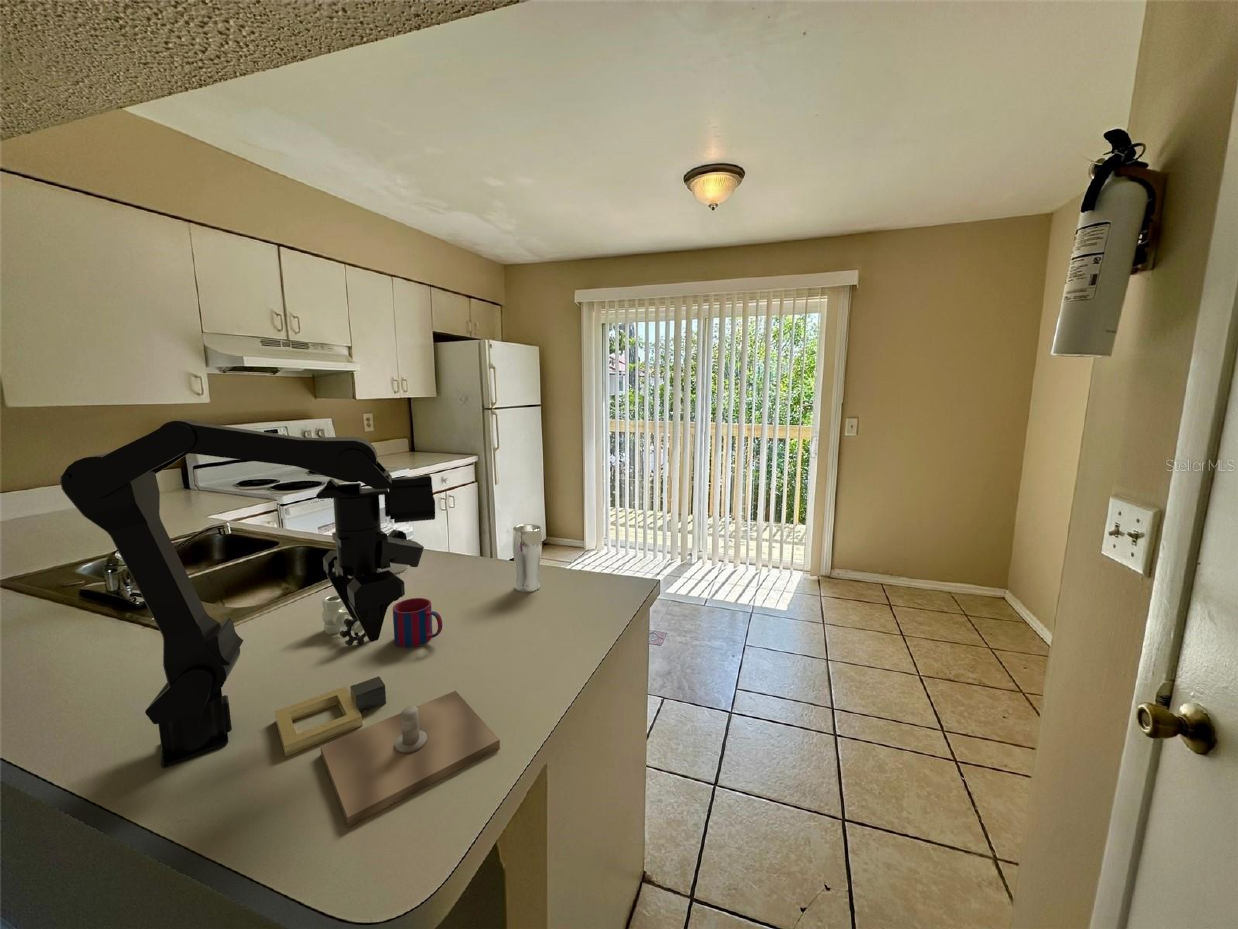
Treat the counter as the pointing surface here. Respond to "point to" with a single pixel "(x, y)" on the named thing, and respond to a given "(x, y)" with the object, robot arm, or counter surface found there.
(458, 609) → the counter surface
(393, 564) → the candle
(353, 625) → the valve
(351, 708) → the brass link
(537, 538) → the beer glass
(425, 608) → the mug
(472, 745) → the plate
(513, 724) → the counter surface
